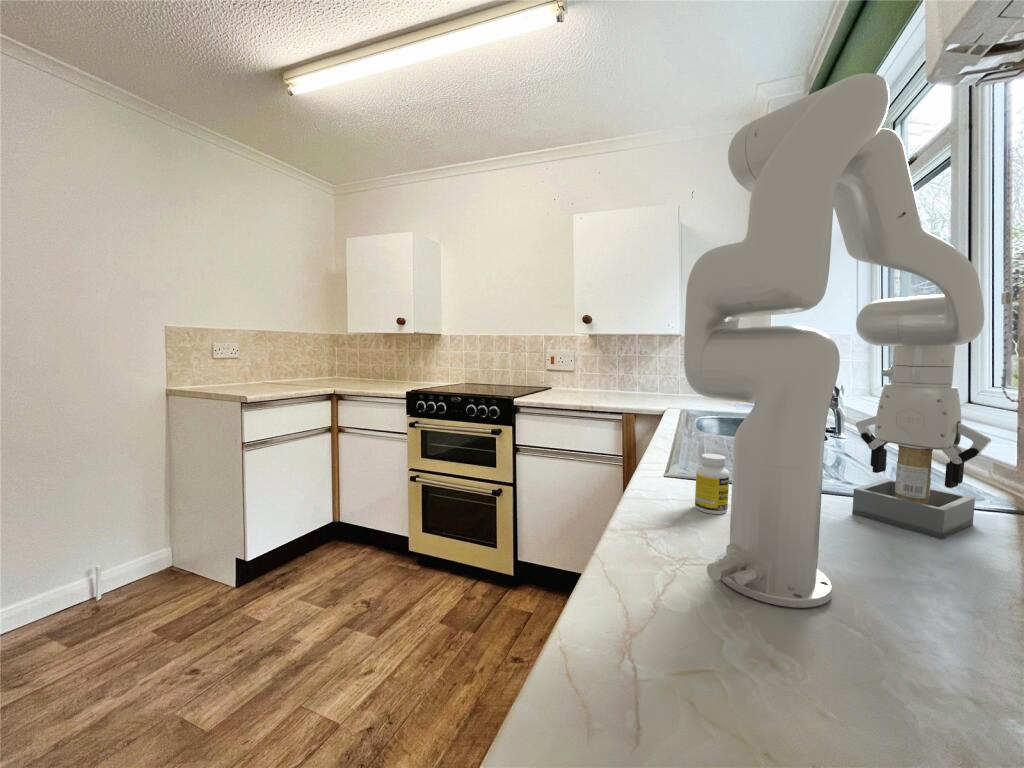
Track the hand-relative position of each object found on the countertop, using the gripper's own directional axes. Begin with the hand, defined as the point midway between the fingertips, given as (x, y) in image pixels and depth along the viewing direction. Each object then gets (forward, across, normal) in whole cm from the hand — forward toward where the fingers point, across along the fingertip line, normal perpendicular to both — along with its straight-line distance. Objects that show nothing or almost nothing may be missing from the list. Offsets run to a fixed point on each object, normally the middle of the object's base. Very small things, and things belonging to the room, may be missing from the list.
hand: (913, 478), depth 76 cm
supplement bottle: (+7, -20, -25) cm, 33 cm away
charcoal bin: (+7, 0, 0) cm, 7 cm away
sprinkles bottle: (+6, 0, 0) cm, 6 cm away
